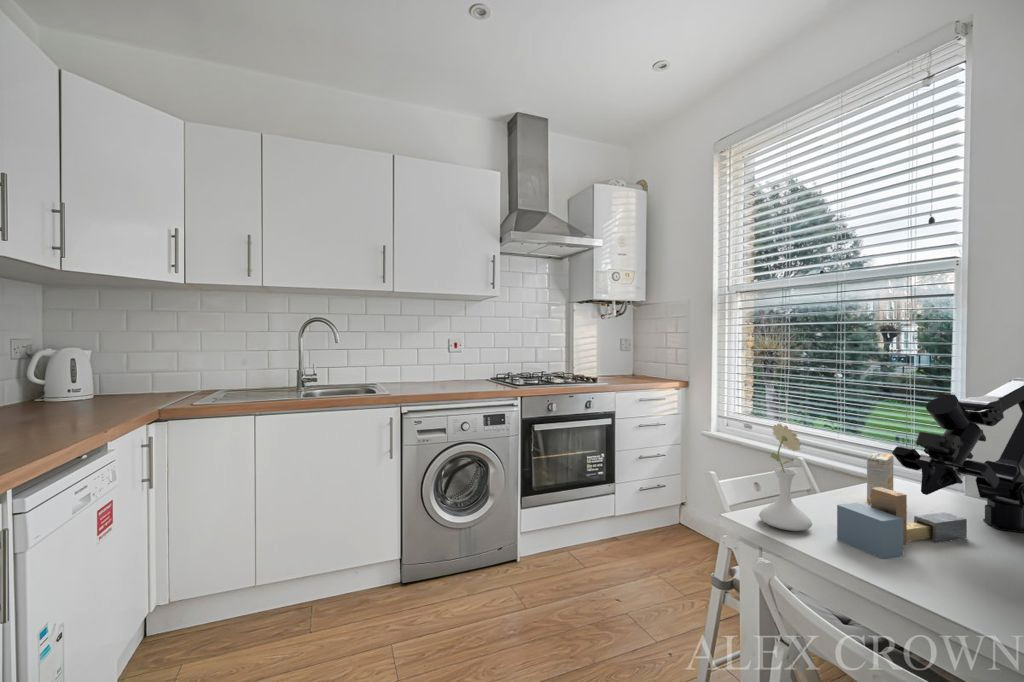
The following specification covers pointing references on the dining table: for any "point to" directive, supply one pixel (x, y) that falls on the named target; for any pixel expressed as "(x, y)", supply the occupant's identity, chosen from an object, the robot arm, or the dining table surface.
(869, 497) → the supplement box
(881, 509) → the upright wooden plank
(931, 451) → the robot arm
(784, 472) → the flower in vase
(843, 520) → the blue-grey rectangular block
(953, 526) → the outer sleeve
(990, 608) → the dining table surface
